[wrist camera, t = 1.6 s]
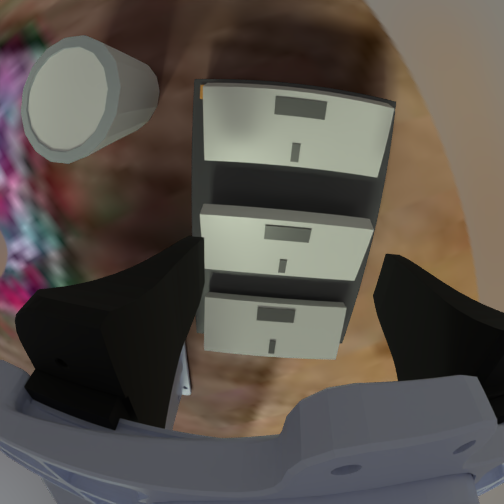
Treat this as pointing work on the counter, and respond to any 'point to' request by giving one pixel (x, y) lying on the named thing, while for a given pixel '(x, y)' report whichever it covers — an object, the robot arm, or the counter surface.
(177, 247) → the robot arm
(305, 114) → the cabinet drawer
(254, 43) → the counter surface
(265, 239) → the filing cabinet drawer
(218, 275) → the filing cabinet
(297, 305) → the pale rectangular block
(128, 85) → the shot glass
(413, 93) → the counter surface
